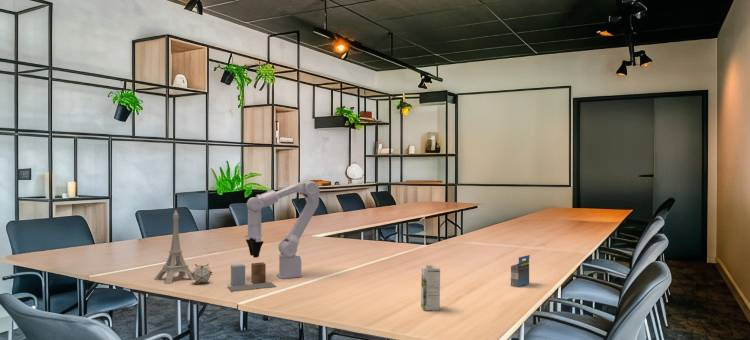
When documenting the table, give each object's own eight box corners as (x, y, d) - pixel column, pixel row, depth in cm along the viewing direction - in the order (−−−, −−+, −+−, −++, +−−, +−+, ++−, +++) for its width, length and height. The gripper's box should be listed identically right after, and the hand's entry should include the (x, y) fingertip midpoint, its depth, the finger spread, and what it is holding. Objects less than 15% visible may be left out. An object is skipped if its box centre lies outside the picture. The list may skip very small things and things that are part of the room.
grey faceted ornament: (203, 293, 211) (203, 276, 205) (186, 284, 212) (186, 268, 206) (216, 278, 218) (217, 262, 212) (200, 270, 219) (199, 254, 214)
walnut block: (263, 281, 217) (263, 262, 217) (265, 283, 213) (265, 264, 213) (251, 282, 215) (251, 263, 214) (253, 284, 211) (253, 265, 211)
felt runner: (270, 282, 213) (270, 282, 213) (276, 286, 206) (276, 286, 206) (227, 287, 205) (227, 286, 205) (231, 291, 198) (231, 290, 198)
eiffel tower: (184, 274, 229) (184, 208, 229) (197, 279, 220) (197, 210, 219) (153, 279, 220) (154, 210, 219) (166, 284, 210) (166, 212, 210)
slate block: (243, 283, 213) (243, 264, 213) (245, 285, 209) (245, 265, 209) (230, 284, 211) (230, 265, 211) (232, 286, 207) (232, 266, 207)
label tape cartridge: (521, 282, 216) (521, 253, 216) (529, 284, 213) (529, 254, 213) (510, 286, 210) (510, 256, 210) (518, 287, 207) (519, 257, 207)
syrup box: (420, 306, 178) (420, 265, 178) (437, 306, 179) (437, 264, 179) (423, 311, 173) (423, 268, 173) (440, 310, 173) (440, 268, 173)
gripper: (241, 223, 225) (241, 254, 225) (249, 227, 212) (249, 259, 212) (257, 223, 228) (257, 253, 228) (265, 226, 215) (265, 258, 215)
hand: (254, 256), depth 220 cm, fingers open, 5 cm apart
